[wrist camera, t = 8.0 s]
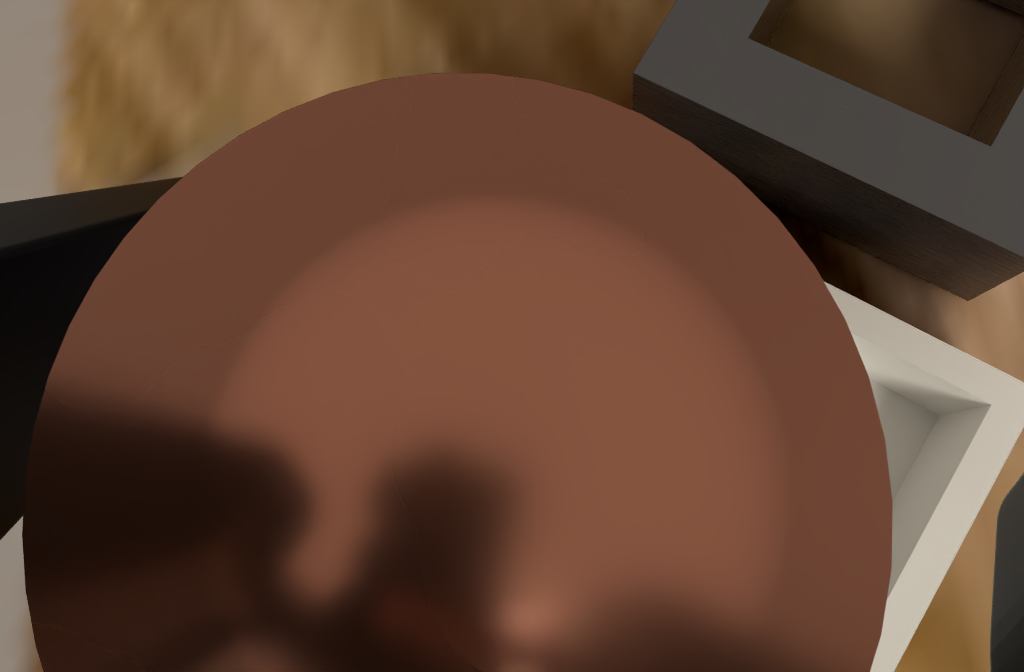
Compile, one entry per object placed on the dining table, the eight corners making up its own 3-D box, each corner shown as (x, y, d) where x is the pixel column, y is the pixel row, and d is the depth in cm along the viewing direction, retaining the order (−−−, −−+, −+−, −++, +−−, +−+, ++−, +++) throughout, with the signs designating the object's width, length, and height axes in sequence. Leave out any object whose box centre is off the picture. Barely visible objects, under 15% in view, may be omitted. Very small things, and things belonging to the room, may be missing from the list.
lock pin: (653, 623, 16) (670, 1201, 4) (449, 526, 17) (-111, 704, 4) (739, 411, 17) (1035, 239, 4) (534, 328, 18) (237, -24, 5)
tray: (732, 848, 16) (755, 931, 13) (254, 522, 18) (183, 529, 15) (969, 407, 17) (1041, 391, 14) (479, 152, 19) (452, 93, 16)
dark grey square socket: (967, 301, 17) (1038, 263, 14) (633, 136, 19) (633, 72, 16) (1138, -13, 18) (1239, -111, 15) (799, -144, 19) (829, -256, 16)
